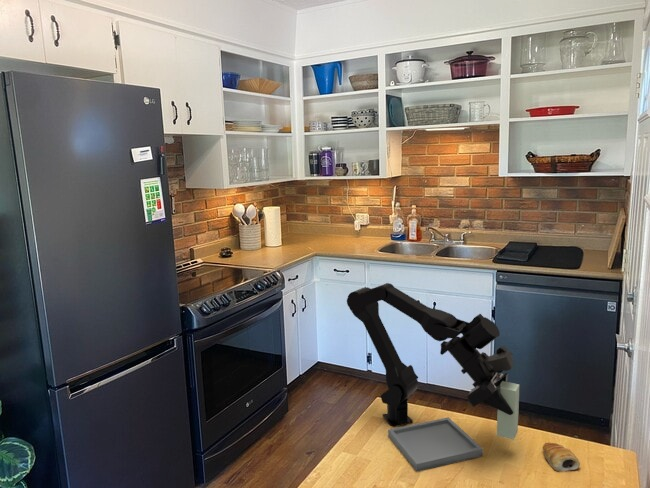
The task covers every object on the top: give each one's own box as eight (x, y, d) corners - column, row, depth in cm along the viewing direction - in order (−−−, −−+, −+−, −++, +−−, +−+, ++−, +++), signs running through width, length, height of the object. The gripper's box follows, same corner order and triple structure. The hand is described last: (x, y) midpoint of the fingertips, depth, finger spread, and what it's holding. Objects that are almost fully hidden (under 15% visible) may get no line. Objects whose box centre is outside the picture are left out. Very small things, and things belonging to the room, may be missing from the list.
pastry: (534, 450, 125) (535, 436, 124) (560, 448, 125) (561, 434, 125) (555, 473, 115) (556, 458, 115) (583, 471, 116) (584, 456, 115)
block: (496, 435, 122) (498, 387, 120) (500, 427, 125) (502, 380, 123) (513, 440, 120) (515, 391, 118) (517, 432, 123) (519, 384, 121)
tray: (388, 436, 132) (388, 429, 132) (448, 423, 138) (448, 417, 137) (416, 471, 117) (416, 464, 117) (483, 456, 123) (483, 448, 122)
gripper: (482, 353, 113) (532, 411, 109) (502, 328, 128) (547, 378, 124) (448, 378, 118) (494, 434, 114) (471, 352, 134) (513, 400, 130)
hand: (514, 410), depth 121 cm, fingers closed on block, 4 cm apart
